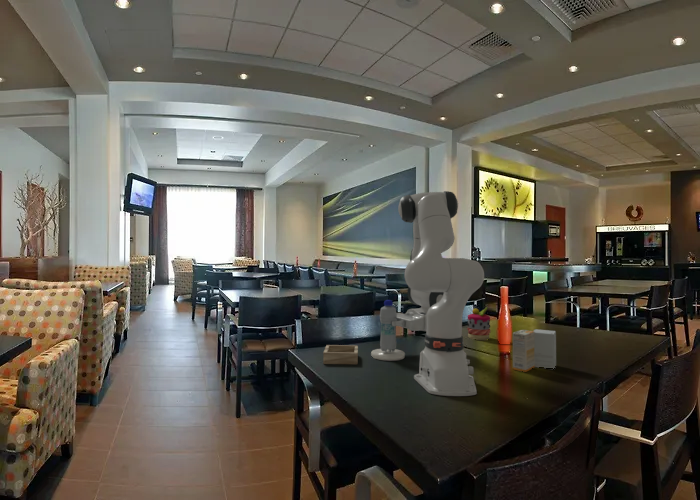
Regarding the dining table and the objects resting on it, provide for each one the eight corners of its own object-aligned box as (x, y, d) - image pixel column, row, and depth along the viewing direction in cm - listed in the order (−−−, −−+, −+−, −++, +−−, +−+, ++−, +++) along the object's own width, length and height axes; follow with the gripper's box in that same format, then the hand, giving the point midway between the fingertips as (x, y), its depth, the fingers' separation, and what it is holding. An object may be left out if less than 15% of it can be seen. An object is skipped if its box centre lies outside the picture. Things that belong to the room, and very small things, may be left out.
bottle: (399, 350, 158) (399, 299, 159) (392, 353, 153) (392, 301, 153) (384, 348, 162) (384, 298, 162) (376, 351, 156) (376, 300, 156)
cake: (468, 340, 189) (469, 308, 189) (466, 335, 199) (466, 305, 199) (492, 341, 187) (492, 308, 187) (488, 336, 197) (488, 305, 197)
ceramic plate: (406, 361, 151) (406, 357, 151) (371, 360, 151) (371, 356, 151) (402, 352, 164) (402, 348, 164) (370, 351, 164) (370, 348, 164)
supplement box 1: (521, 365, 147) (521, 329, 147) (535, 368, 143) (535, 331, 143) (511, 369, 141) (512, 332, 141) (525, 372, 137) (525, 334, 137)
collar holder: (357, 364, 145) (357, 353, 145) (323, 363, 146) (323, 352, 146) (357, 355, 158) (357, 345, 158) (326, 355, 158) (326, 344, 158)
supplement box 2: (556, 365, 147) (556, 330, 147) (554, 370, 141) (554, 334, 141) (534, 362, 151) (534, 328, 151) (531, 366, 145) (531, 331, 145)
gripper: (399, 308, 173) (372, 310, 166) (430, 315, 155) (401, 317, 148) (399, 323, 173) (372, 325, 166) (430, 331, 155) (401, 334, 148)
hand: (386, 322), depth 157 cm, fingers closed on bottle, 6 cm apart
